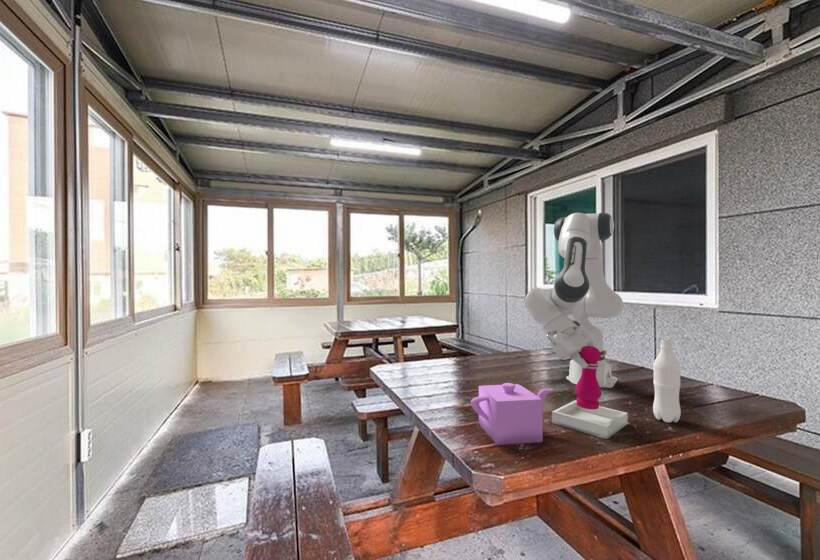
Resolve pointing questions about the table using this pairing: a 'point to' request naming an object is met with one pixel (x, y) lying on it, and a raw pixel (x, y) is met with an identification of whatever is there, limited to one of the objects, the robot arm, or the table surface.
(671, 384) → the water bottle
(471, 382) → the table surface
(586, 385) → the pepper mill
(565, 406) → the tray
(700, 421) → the table surface
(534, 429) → the teapot
